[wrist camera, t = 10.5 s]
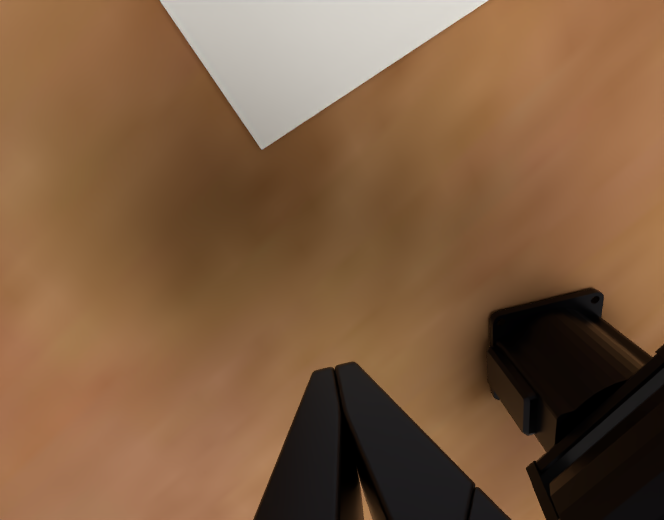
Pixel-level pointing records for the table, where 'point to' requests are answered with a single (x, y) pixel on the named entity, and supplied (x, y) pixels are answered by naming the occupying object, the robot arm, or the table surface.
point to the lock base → (303, 50)
